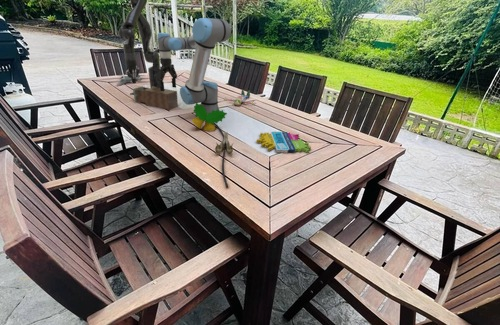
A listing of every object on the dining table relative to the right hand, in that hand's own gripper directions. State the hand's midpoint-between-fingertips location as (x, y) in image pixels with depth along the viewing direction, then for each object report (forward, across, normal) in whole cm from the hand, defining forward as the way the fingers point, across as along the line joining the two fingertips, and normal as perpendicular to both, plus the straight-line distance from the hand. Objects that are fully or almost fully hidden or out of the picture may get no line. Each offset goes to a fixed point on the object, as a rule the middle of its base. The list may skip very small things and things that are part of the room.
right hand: (168, 89), depth 189 cm
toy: (+14, -44, +40) cm, 61 cm away
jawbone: (+15, +46, +68) cm, 83 cm away
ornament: (+14, +22, +46) cm, 53 cm away
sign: (+15, +20, +92) cm, 96 cm away
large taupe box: (+13, 0, -8) cm, 16 cm away
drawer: (+12, 0, -22) cm, 25 cm away
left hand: (0, 0, -31) cm, 31 cm away
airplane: (+12, -46, -80) cm, 93 cm away
